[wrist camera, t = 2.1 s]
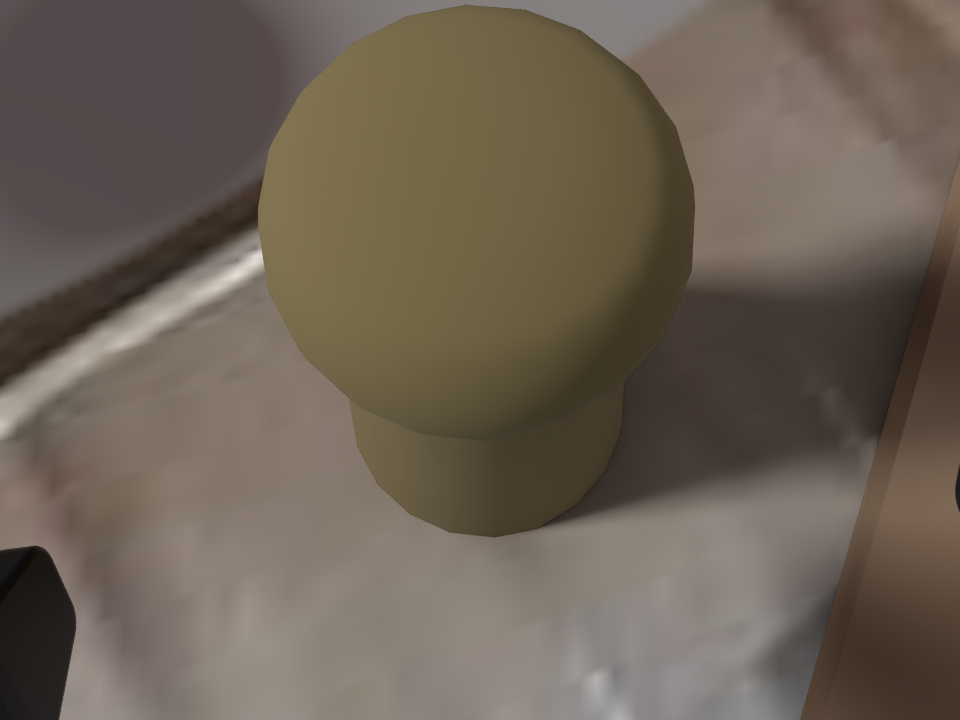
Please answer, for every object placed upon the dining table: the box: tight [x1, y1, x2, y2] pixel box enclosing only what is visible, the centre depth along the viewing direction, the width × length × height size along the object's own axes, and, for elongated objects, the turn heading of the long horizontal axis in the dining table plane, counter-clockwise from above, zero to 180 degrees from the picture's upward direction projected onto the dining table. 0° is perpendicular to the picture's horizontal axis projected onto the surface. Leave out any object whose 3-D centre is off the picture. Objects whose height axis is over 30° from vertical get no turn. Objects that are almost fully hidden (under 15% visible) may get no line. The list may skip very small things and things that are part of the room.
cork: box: [258, 5, 695, 537], centre depth 15 cm, size 6×6×11 cm
